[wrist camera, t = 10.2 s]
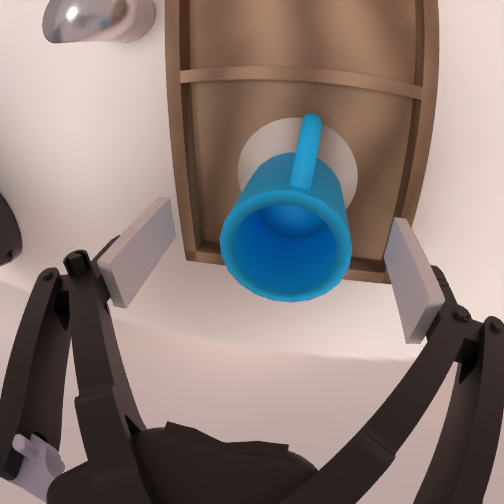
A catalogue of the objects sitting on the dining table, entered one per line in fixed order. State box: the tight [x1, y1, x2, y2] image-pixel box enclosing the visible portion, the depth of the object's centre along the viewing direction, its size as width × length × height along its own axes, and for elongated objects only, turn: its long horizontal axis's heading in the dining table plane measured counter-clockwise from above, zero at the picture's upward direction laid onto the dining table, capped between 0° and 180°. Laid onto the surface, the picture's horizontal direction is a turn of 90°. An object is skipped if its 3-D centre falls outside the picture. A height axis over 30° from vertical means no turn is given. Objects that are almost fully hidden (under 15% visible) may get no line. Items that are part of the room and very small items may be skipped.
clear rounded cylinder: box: [42, 0, 156, 43], centre depth 14 cm, size 5×5×9 cm
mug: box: [220, 113, 352, 302], centre depth 20 cm, size 12×8×8 cm
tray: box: [165, 0, 439, 284], centre depth 20 cm, size 20×28×3 cm
